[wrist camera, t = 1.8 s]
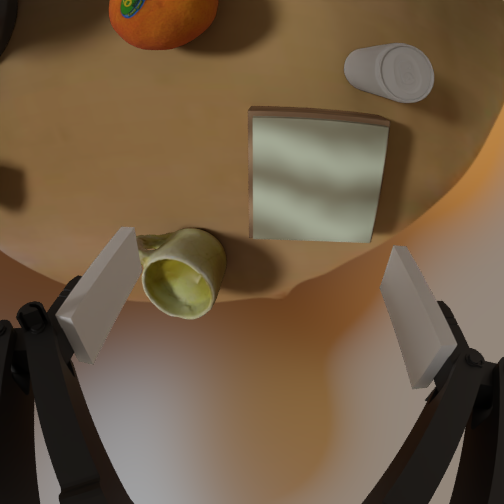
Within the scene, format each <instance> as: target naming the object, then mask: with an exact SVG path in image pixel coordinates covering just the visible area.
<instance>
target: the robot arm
mask: <svg viewBox="0 0 504 504" xmlns="http://www.w3.org/2000/svg"><path fill="white" fill-rule="evenodd" d="M16 15H17V0H0V55H1V54H2V52H3V51H4V49H5V47H6V45H7V43H8V41H9V39H10V36H11V34H12V31H13V28H14V24H15V20H16ZM141 272H142V267H141V262H140V257H139V252H138V246H137V241H136V235H135V229H134V227H121V228H120V229H119V230H118V231H117V233H116V234H115V235H114V236H113V238H112V239H111V240H110V241H109V243H108V244H107V245H106V246H105V248H104V249H103V250H102V251H101V253H100V254H99V255H98V256H97V258H96V259H95V260H94V262H93V263H92V264H91V266H90V267H89V268H88V270H87V271H86V272H85V274H84V275H83V276H76V277H75V278H74V279H72V280H71V281H69V283H68V284H67V285H66V287H65V288H64V291H62V292H61V293H60V295H59V297H57V299H56V300H55V302H54V303H53V305H52V306H51V307H50V309H49V310H48V312H47V313H46V311H45V309H44V307H43V305H42V303H40V302H36V301H34V302H29V303H27V304H25V305H24V306H22V307H21V308H20V309H19V311H18V313H17V316H16V318H17V320H18V322H19V324H20V325H21V327H22V328H13V326H12V325H11V323H10V321H8V320H1V321H0V504H40V498H39V491H38V484H37V473H36V461H35V443H34V399H35V403H36V408H37V412H38V416H39V420H40V424H41V428H42V432H43V435H44V439H45V443H46V446H47V449H48V452H49V455H50V459H51V462H52V465H53V468H54V470H55V473H56V476H57V479H58V481H59V484H60V487H61V493H60V495H59V502H60V504H134V503H133V501H132V500H131V499H130V497H129V496H128V494H127V493H126V491H125V489H124V487H123V485H122V483H121V481H120V479H119V477H118V475H117V474H116V471H115V469H114V468H113V466H112V463H111V461H110V459H109V457H108V455H107V453H106V450H105V448H104V446H103V444H102V442H101V439H100V437H99V435H98V432H97V430H96V427H95V425H94V422H93V420H92V417H91V415H90V412H89V409H88V407H87V404H86V401H85V399H84V396H83V393H82V390H81V387H80V384H79V381H78V378H77V374H76V371H75V368H74V365H73V362H72V361H71V357H72V355H73V353H75V355H76V357H77V359H78V360H79V361H81V362H84V363H88V364H94V363H95V360H96V358H97V356H98V354H99V352H100V350H101V348H102V346H103V344H104V342H105V340H106V338H107V336H108V334H109V332H110V330H111V328H112V326H113V324H114V322H115V320H116V318H117V316H118V315H119V313H120V311H121V309H122V307H123V305H124V303H125V301H126V300H127V298H128V296H129V294H130V292H131V290H132V289H133V287H134V285H135V283H136V281H137V280H138V278H139V276H140V274H141ZM380 290H381V293H382V296H383V298H384V301H385V304H386V307H387V309H388V313H389V315H390V318H391V321H392V324H393V327H394V330H395V333H396V336H397V339H398V342H399V346H400V349H401V352H402V355H403V359H404V362H405V365H406V368H407V372H408V376H409V379H410V383H411V386H412V389H418V388H427V387H428V386H429V385H430V383H431V382H432V381H433V379H434V382H435V385H436V387H435V389H434V390H433V391H432V392H431V393H430V395H429V396H428V397H427V398H426V400H425V401H427V403H426V405H425V407H424V409H423V411H422V412H421V414H420V416H419V418H418V420H417V422H416V423H415V425H414V427H413V429H412V430H411V432H410V434H409V435H408V437H407V439H406V440H405V442H404V444H403V445H402V447H401V449H400V450H399V452H398V453H397V455H396V457H395V458H394V460H393V461H392V463H391V464H390V466H389V467H388V469H387V470H386V471H385V473H384V474H383V476H382V477H381V479H380V480H379V482H378V483H377V484H376V486H375V487H374V488H373V490H372V491H371V492H370V493H369V495H368V496H367V498H366V499H365V500H364V501H363V503H362V504H428V503H429V501H430V500H431V498H432V496H433V495H434V493H435V491H436V489H437V487H438V485H439V484H440V482H441V480H442V478H443V476H444V474H445V472H446V470H447V468H448V466H449V463H450V462H451V459H452V457H453V455H454V453H455V451H456V449H457V446H458V444H459V441H460V439H461V437H462V434H463V432H464V429H465V434H464V441H463V447H462V452H461V457H460V463H459V467H458V472H457V476H456V481H455V485H454V488H453V492H452V496H451V500H450V503H449V504H504V357H502V358H501V359H500V361H499V362H498V364H496V363H491V362H487V361H485V360H484V358H483V356H482V355H481V354H480V353H479V352H478V351H476V350H475V349H472V348H469V346H468V344H467V342H466V340H465V337H464V335H463V333H462V331H461V329H460V327H459V326H458V325H457V324H458V323H457V321H456V319H455V318H454V315H453V313H452V312H451V310H450V308H449V307H448V306H447V305H446V304H445V303H444V302H443V301H436V299H435V297H434V295H433V293H432V291H431V289H430V288H429V286H428V284H427V282H426V280H425V278H424V276H423V275H422V273H421V271H420V269H419V267H418V266H417V264H416V262H415V260H414V259H413V257H412V255H411V254H410V252H409V250H408V249H407V247H406V246H395V245H393V248H392V252H391V255H390V258H389V261H388V264H387V268H386V271H385V274H384V277H383V280H382V283H381V285H380ZM465 427H466V428H465Z"/></svg>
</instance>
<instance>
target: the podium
mask: <svg viewBox="0 0 504 504" xmlns="http://www.w3.org/2000/svg"><path fill="white" fill-rule="evenodd" d="M389 130H390V121H388V120H387V119H385V118H383V117H381V116H379V115H374V114H366V113H358V112H349V111H339V110H328V109H315V108H298V107H272V106H251V107H250V108H249V110H248V170H249V238H253V239H276V240H306V241H334V242H360V243H370V242H371V239H372V234H373V229H374V225H375V220H376V214H377V209H378V204H379V198H380V193H381V187H382V181H383V174H384V168H385V161H386V154H387V146H388V138H389Z"/></svg>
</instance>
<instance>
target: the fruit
mask: <svg viewBox="0 0 504 504" xmlns="http://www.w3.org/2000/svg"><path fill="white" fill-rule="evenodd" d="M217 9H218V0H110V3H109V18H110V22H111V24H112V26H113V28H114V30H115V31H116V32H117V33H118V34H119V35H120V36H121V37H122V38H123V39H124V40H125V41H126V42H128V43H129V44H131V45H133V46H135V47H137V48H141V49H146V50H167V49H173V48H176V47H179V46H182V45H184V44H186V43H188V42H190V41H192V40H193V39H195V38H196V37H197V36H199V35H200V34H202V33H203V32H204V31H205V30H206V29H207V28H208V27H209V26H210V25H211V23H212V22H213V20H214V19H215V16H216V13H217Z"/></svg>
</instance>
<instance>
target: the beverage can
mask: <svg viewBox="0 0 504 504" xmlns="http://www.w3.org/2000/svg"><path fill="white" fill-rule="evenodd" d="M344 74H345V76H346V78H347V80H348V81H349V83H350V84H351V85H353V86H354V87H355V88H357V89H359V90H362V91H365V92H369V93H372V94H375V95H379V96H382V97H385V98H388V99H391V100H394V101H397V102H401V103H415V102H418V101H421V100H422V99H424V98H425V97H427V95H428V94H429V93H430V92H431V89H432V87H433V84H434V71H433V68H432V65H431V63H430V61H429V59H428V58H427V56H426V55H425V54H424V53H423V52H422V51H421V50H419V49H417V48H416V47H414V46H411V45H408V44H405V43H392V44H385V45H378V46H373V47H367V48H361V49H357V50H354V51H353V52H351V53H350V54H349V56H348V57H347V59H346V61H345V65H344Z"/></svg>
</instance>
